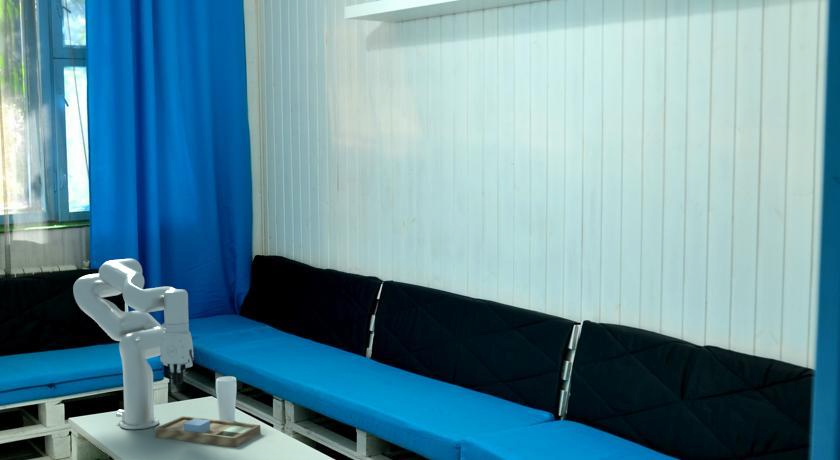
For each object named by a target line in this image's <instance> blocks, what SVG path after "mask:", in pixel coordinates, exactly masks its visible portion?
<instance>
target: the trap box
mask: <svg viewBox="0 0 840 460" xmlns="http://www.w3.org/2000/svg"><path fill="white" fill-rule="evenodd" d="M193 419H201V420H210V430H209V431H206V432H204V433H198V432H190V431H184V426H183V424H184V423H186V422H188V421H190V420H193ZM154 434H155V436H154V437H155V438H160V439H161V438H162V439H170V440H177V441H178V440H179V441H186V442H193V443H203V444H208V445H210V444H211V445H215V446H216V445H218V446H223V447H224V446H225V447H233V448H237V447H238V446H241V445H242V444H244V443H246V442H248V441H249V440H251V439H253V438H255V437H257V436H259V435H261V425H260V424H255V423H247V422H237V421H234V422H230V421H221V420H219V419H210V418H203V417H195V416H187V415H182V416H180V417H178V418H175V419H173V420H170V421H169V422H166V423H164V424H162V425H160V426H157V427H155V428H154Z"/></svg>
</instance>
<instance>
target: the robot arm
mask: <svg viewBox="0 0 840 460" xmlns="http://www.w3.org/2000/svg"><path fill="white" fill-rule="evenodd" d="M144 286H145V277H144V275H143V268H142V265H141V264H140V262H139V261H138V260H137V259H135V258H124V259H113V260H108V261H105V262H104V263H103V264H102V265H101V266H100V267H99V269H98V273H92V274H86V275H83V276H81V277H79V278H78V279H76V281H75V282H74V284H73V287H72V289H73V291H72V292H73V297H74V300H75V303H76V304H77V306H78V307H79V309H80V310H81V311H83V312H84V313H85V314H86V315H87V316H88V317H90V318H91V319H92V320H94V322H95V323H97V324H98V326H99V327H100V328H101V329H102V330H103V331H104V333H106V334H107V336H109V337H110V338H111V339H112V340H114V341H117V342H119V345H118V348H119V349H118V350H119V353H120V358H121V363H122V380H123V382H122V383H123V409H118V410H117V413H116V414H115V416H116V417H117V418H121V421H120V422H119V427H121V428H122V429H126V430H143V429H144V430H145V429H149V428H153V427H156V426H157V425H158V424H159V423H160V420H159V418H158V417H157V416H155V405H154V399H155V398H154V373H153V369H152V367H151V364H150V363H149V362H148V359H151V358H155V357H159V358H160V359H159V361H160V362H161V363H162V365H163V366H166V367H168V369H169V371H170V372H171V374H172V385H173V386H179V385H182V384H183V383H184V372H185V371H186V369H187V368H191V367H193V365H194V364H193V361H194V344H193V343H194V342H193V338H192V334H191V331H190V327H189V325H190V324H189V320H190V319H189V294H188V291H187V290H186V289H182V288H181V289H179V288H178V289H177V288H174V287H173V286H159V287H158V286H157V287H154V288H153V287H151V288H145V289H144ZM121 294H122V298H123V300H124V302H125V304H126V305H127V306H128V307H130V308H131V309H134V310H131V311H130V310H129V311H122V310H121V309H120V308H118V306H117V305H116V304H115V303H114V302H111V301H110V300H108V299H105V298H107V297H108V298H109V297H113V296H118V295H121ZM158 311H163V315H164V316H163V317H164V318H163V319H164V322H163V323H162V324H161V323H160V322H158V321H157V320H156V319H155V318H154V317H153V316H152V315H151V314H150V313H152V312H158Z"/></svg>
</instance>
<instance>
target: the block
mask: <svg viewBox="0 0 840 460" xmlns="http://www.w3.org/2000/svg"><path fill="white" fill-rule="evenodd" d="M183 426H184V431H190V432H198V433H204V432H206V431H209V430H210V420H201V419H193V420H190V421H188V422H186V423H184V424H183Z"/></svg>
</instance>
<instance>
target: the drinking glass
mask: <svg viewBox="0 0 840 460" xmlns="http://www.w3.org/2000/svg"><path fill="white" fill-rule="evenodd" d="M215 391H216V393H215V394H216V400H217V401H216V404H217V410H218V420H221V421H230V422H236V403H237V378H236V377H235V376H230V375H229V376H228V375H226V376H219V377H217V378H216V381H215Z"/></svg>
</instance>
